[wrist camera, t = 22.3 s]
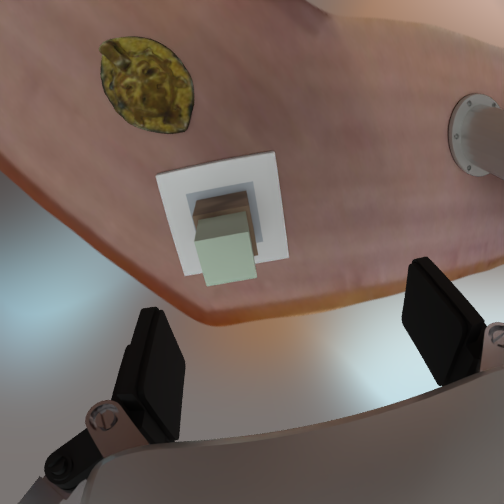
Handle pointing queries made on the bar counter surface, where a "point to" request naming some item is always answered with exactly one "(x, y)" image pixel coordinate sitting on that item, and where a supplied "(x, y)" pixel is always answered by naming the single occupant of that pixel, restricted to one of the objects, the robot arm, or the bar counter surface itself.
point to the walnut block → (225, 210)
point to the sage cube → (225, 249)
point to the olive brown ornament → (147, 84)
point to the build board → (221, 183)
